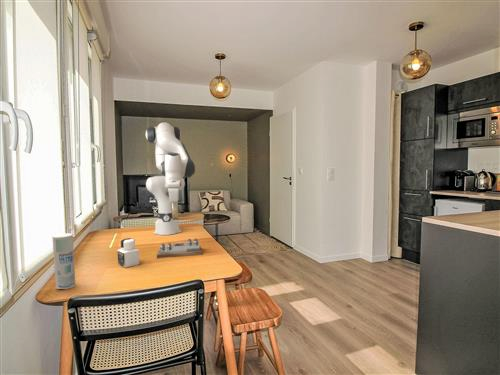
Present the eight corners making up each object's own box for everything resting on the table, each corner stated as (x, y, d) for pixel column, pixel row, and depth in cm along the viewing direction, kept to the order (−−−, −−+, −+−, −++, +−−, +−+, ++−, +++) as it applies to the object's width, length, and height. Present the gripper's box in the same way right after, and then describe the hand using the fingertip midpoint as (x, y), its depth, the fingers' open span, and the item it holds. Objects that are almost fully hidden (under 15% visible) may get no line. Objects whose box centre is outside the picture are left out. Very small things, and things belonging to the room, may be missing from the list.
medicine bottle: (117, 264, 136) (116, 239, 135) (132, 260, 142) (131, 236, 141) (124, 268, 132) (123, 242, 131) (139, 264, 137) (138, 239, 136)
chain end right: (173, 248, 156) (172, 239, 155) (198, 247, 159) (198, 238, 158) (172, 252, 149) (172, 243, 149) (199, 250, 152) (199, 241, 151)
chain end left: (160, 249, 154) (160, 243, 154) (186, 248, 157) (186, 241, 157) (159, 253, 148) (159, 246, 147) (186, 251, 150) (186, 245, 150)
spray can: (58, 291, 107) (55, 238, 106) (53, 287, 112) (50, 235, 110) (78, 286, 112) (75, 234, 111) (72, 281, 117) (69, 232, 115)
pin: (172, 219, 156) (171, 200, 156) (178, 218, 157) (177, 200, 156) (172, 219, 153) (171, 200, 153) (178, 219, 154) (177, 200, 153)
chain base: (158, 251, 156) (158, 248, 156) (200, 248, 161) (200, 246, 161) (156, 258, 145) (156, 255, 145) (201, 254, 150) (201, 251, 150)
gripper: (169, 183, 163) (170, 207, 164) (166, 184, 143) (167, 212, 144) (180, 182, 165) (181, 207, 165) (179, 184, 145) (180, 211, 145)
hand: (175, 209), depth 155 cm, fingers closed on pin, 3 cm apart
